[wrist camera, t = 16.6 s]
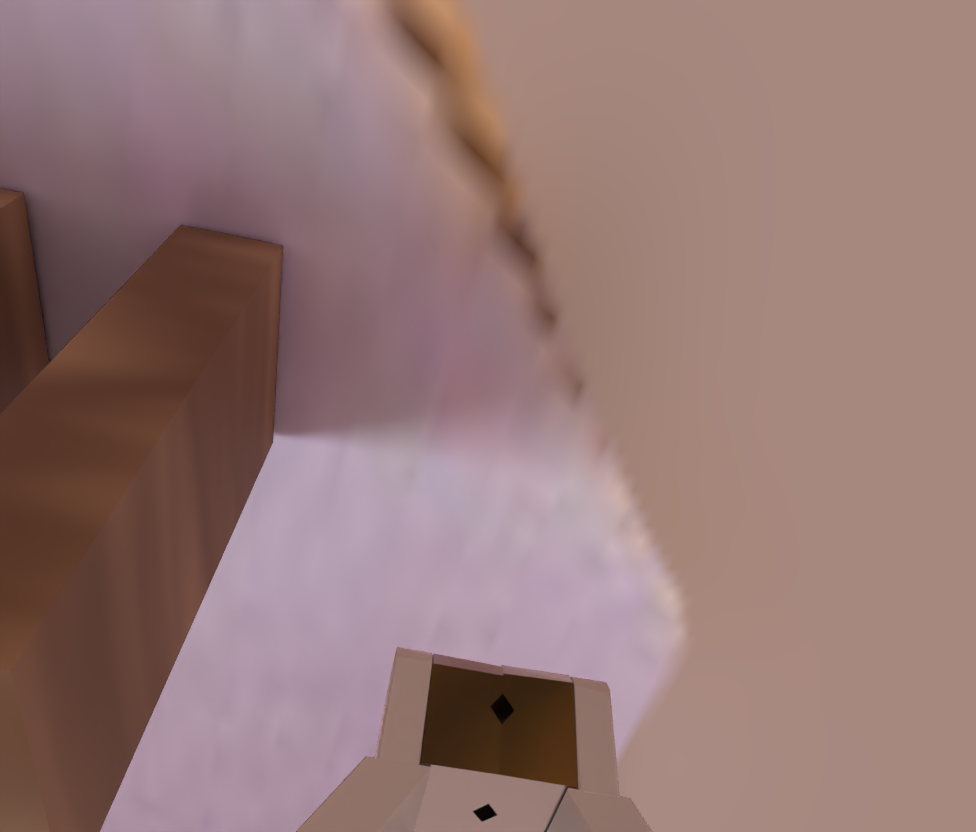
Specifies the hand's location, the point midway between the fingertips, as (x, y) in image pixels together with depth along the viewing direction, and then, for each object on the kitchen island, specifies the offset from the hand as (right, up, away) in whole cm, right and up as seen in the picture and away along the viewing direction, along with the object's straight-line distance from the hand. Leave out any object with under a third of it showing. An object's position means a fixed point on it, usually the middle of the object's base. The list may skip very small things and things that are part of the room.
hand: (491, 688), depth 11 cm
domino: (-6, +5, +6) cm, 10 cm away
